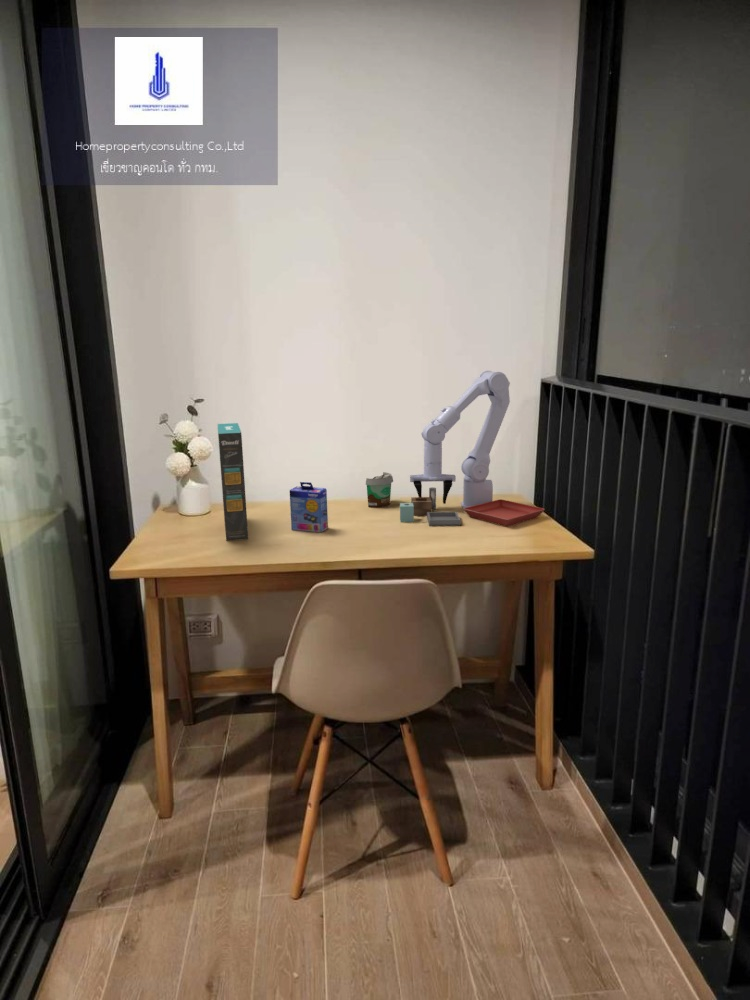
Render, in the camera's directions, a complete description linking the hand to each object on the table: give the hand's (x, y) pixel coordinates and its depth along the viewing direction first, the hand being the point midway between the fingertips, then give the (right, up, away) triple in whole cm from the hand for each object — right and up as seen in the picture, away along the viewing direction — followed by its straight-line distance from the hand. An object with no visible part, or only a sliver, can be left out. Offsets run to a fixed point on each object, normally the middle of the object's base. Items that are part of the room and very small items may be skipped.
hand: (432, 503), depth 207 cm
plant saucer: (+21, -5, -10) cm, 24 cm away
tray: (+2, -6, -14) cm, 15 cm away
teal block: (-9, -5, -12) cm, 16 cm away
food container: (-16, -1, +6) cm, 17 cm away
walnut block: (-4, -3, -4) cm, 7 cm away
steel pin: (0, -2, +1) cm, 2 cm away
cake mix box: (-60, -8, -19) cm, 63 cm away
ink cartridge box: (-38, -8, -20) cm, 43 cm away
